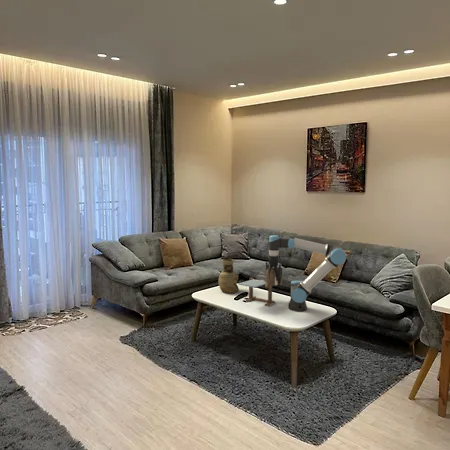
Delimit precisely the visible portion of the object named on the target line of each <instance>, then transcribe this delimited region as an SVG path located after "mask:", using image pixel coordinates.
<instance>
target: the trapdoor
mask: <svg viewBox="0 0 450 450" xmlns="http://www.w3.org/2000/svg"><path fill="white" fill-rule="evenodd" d="M265 284H266V275H263V274H257V275H256V277H255V279H254V278H253V279H252V280H246V281H243V282H237V286H243V287H244V286H245V287H248V288H249V287H253V289H256V288H259V287H262V286H265Z"/></svg>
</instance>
